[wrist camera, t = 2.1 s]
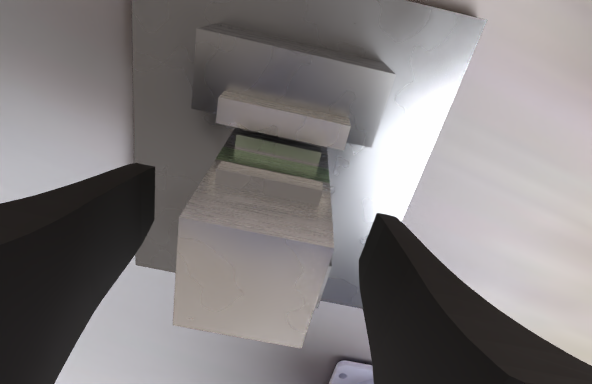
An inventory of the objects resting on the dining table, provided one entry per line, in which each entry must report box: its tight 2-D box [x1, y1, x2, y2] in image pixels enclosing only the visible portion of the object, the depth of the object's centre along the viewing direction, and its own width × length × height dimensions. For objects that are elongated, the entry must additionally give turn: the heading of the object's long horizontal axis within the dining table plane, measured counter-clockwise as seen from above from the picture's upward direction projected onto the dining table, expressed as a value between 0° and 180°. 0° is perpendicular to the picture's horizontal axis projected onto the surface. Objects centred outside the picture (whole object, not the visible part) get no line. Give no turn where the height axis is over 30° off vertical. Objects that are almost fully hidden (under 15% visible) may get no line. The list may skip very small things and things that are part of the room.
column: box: [173, 127, 334, 349], centre depth 12 cm, size 4×4×7 cm
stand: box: [132, 0, 487, 309], centre depth 14 cm, size 14×12×4 cm
